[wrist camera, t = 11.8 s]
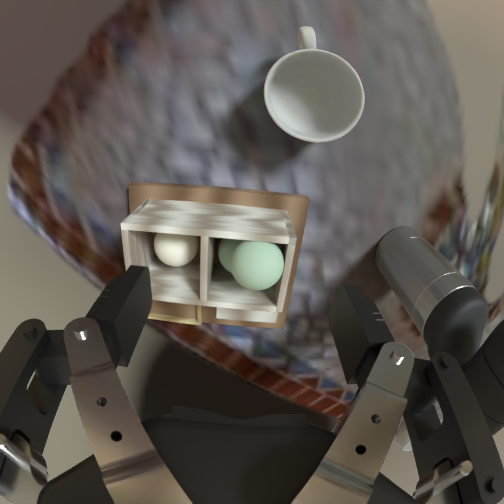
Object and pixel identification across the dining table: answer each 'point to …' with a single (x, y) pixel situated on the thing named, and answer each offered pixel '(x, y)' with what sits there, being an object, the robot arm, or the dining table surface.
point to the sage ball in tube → (227, 251)
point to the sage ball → (256, 264)
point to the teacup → (313, 92)
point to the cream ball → (175, 248)
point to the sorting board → (213, 250)
